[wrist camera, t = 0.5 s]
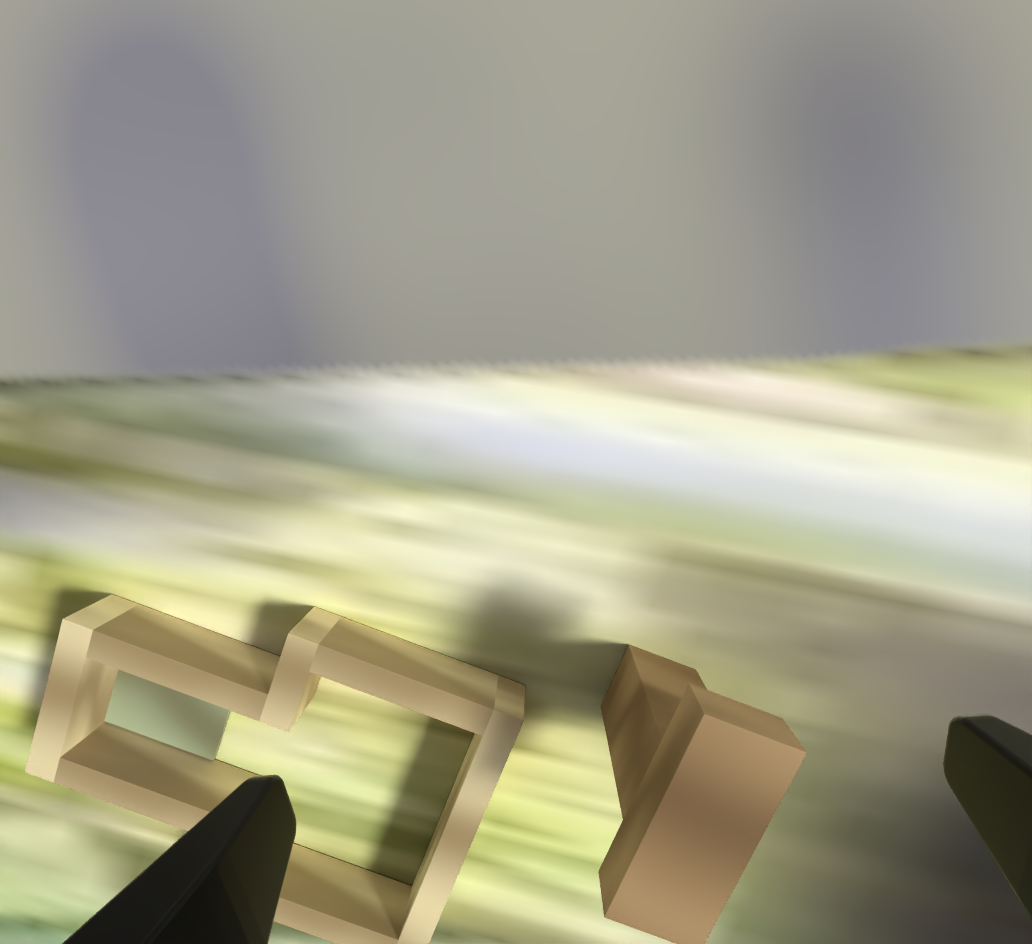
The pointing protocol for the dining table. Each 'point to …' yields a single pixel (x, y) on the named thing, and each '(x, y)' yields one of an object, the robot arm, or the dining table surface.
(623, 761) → the tan brick
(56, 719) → the keyhole cradle
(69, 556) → the dining table surface
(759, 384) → the dining table surface
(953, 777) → the robot arm
